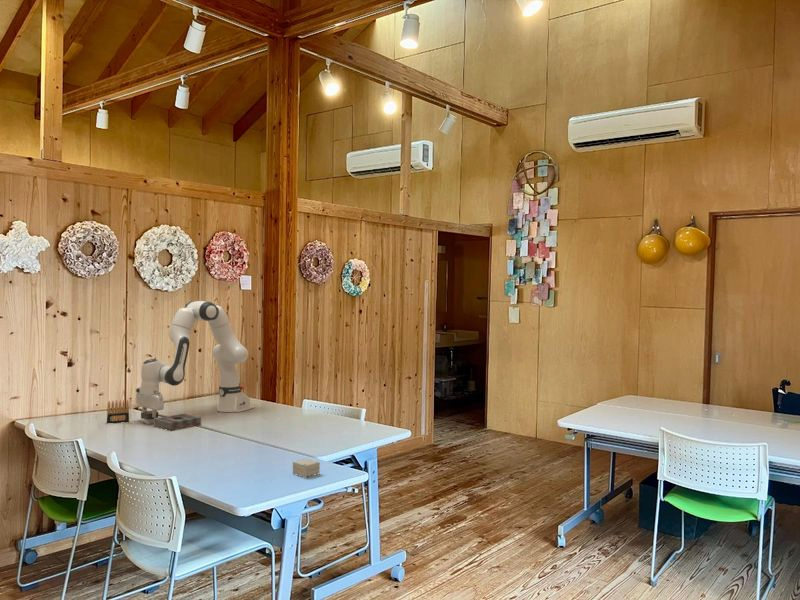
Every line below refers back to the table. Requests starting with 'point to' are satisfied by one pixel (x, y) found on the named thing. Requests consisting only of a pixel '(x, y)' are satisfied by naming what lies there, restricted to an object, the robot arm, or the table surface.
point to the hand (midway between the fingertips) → (149, 416)
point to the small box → (306, 467)
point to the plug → (148, 417)
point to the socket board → (177, 422)
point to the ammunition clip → (118, 412)
